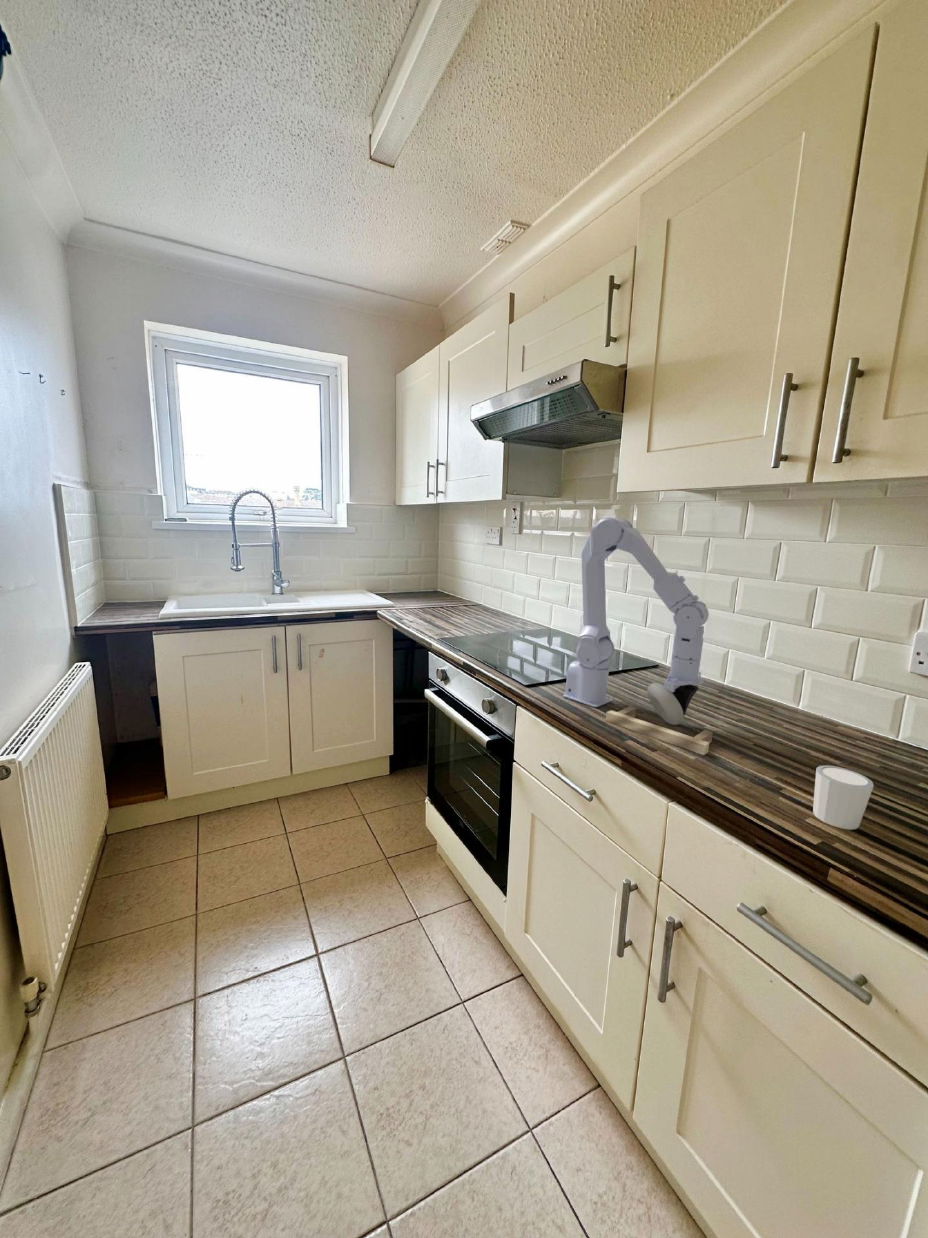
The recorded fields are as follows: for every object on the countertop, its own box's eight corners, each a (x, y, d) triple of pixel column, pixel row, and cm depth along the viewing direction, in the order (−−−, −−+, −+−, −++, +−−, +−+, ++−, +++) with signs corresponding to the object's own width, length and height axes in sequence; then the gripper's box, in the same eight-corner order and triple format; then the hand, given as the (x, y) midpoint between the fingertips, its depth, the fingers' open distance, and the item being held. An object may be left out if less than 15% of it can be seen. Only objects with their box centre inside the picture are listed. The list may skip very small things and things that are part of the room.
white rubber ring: (693, 727, 103) (677, 691, 100) (679, 736, 103) (662, 700, 100) (667, 706, 113) (651, 672, 109) (654, 714, 113) (637, 680, 109)
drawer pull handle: (605, 720, 108) (606, 712, 108) (623, 712, 114) (624, 704, 113) (703, 755, 94) (705, 745, 93) (719, 744, 99) (720, 734, 99)
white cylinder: (872, 837, 70) (882, 792, 69) (815, 824, 72) (823, 781, 71) (854, 812, 76) (863, 770, 75) (802, 801, 79) (810, 761, 77)
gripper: (691, 666, 99) (683, 730, 101) (717, 656, 109) (709, 714, 111) (657, 658, 104) (650, 719, 106) (685, 649, 114) (678, 705, 116)
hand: (678, 716), depth 109 cm, fingers closed, pressing on white rubber ring
